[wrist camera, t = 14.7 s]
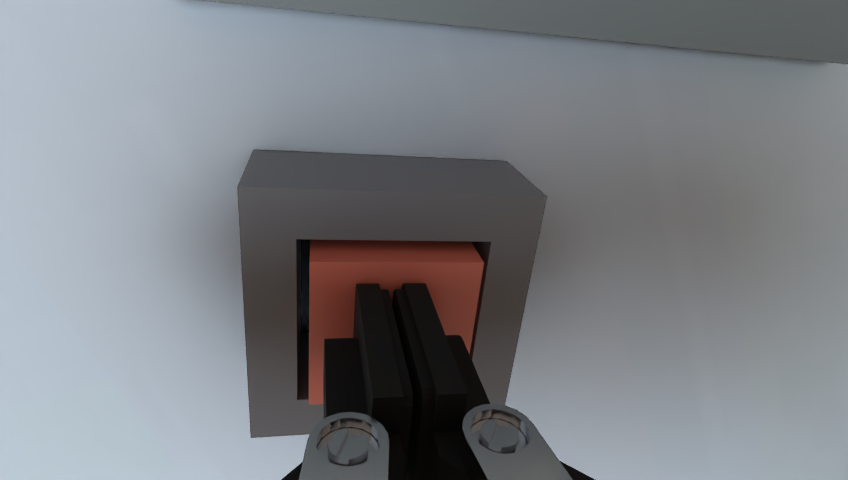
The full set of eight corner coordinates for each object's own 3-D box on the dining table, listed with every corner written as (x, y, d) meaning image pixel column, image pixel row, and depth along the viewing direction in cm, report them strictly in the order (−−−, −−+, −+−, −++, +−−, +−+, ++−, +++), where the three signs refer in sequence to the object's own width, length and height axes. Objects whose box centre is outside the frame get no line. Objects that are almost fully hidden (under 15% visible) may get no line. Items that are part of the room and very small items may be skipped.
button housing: (506, 161, 15) (546, 196, 12) (474, 358, 18) (501, 422, 15) (253, 149, 14) (237, 186, 11) (262, 366, 16) (251, 437, 14)
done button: (457, 218, 15) (484, 262, 12) (441, 337, 16) (462, 396, 14) (311, 215, 14) (309, 261, 11) (310, 341, 15) (308, 404, 13)
